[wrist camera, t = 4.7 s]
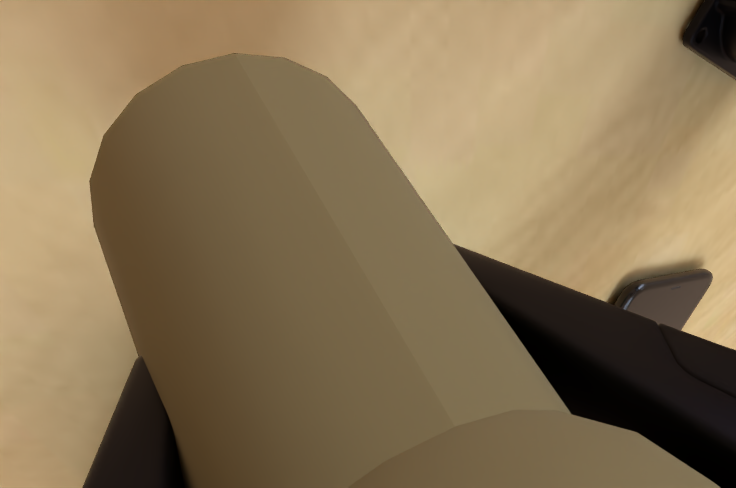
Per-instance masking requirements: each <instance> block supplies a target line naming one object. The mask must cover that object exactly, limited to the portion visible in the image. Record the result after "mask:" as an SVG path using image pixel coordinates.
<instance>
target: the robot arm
mask: <svg viewBox="0 0 736 488" xmlns="http://www.w3.org/2000/svg"><path fill="white" fill-rule="evenodd" d="M683 45H684V46H685V47H687V48H688V49H690V50H691V51H693V52H694V53H696V54H697V55H699V56H700V57H702V58H703V59H705V60H706V61H708V62H709V63H711V64H712V65H714V66H715V67H717V68H718V69H720V70H721V71H723V72H724V73H726V74H727V75H729V76H730V77H732V78H733V79H735V80H736V0H704V2H703V4H702V5H701V7H700V8H699V10H698V12H697V13H696V15H695V16H694V18H693V20H692V21H691V23H690V24H689V26H688V28H687V29H686V31H685V33H684V36H683ZM453 245H454V246H455V248H456V249H457V251H458V252H459V254H460V255H461V256H462V258H463V259H464V261H465V262H466V264H467V265H468V266H469V268H470V269H471V271H472V272H473V274H474V275H475V276H476V278H477V279H478V281H479V282H480V284H481V285H482V287H483V288H484V289H485V291H486V292H487V294H488V295H489V297H490V298H491V299H492V301H493V302H494V304H495V305H496V307H497V308H498V309H499V311H500V312H501V314H502V315H503V317H504V318H505V320H506V321H507V322H508V324H509V325H510V327H511V328H512V330H513V331H514V332H515V334H516V335H517V337H518V338H519V340H520V341H521V342H522V344H523V345H524V347H525V348H526V350H527V351H528V352H529V354H530V355H531V357H532V358H533V360H534V361H535V363H536V364H537V365H538V367H539V368H540V370H541V371H542V373H543V374H544V375H545V377H546V378H547V380H548V381H549V383H550V384H551V385H552V387H553V388H554V390H555V391H556V393H557V394H558V396H559V397H560V398H561V400H562V401H563V403H564V404H565V406H566V407H567V408H568V410H569V411H570V413H571V414H572V415H575V416H579V417H583V418H586V419H590V420H594V421H597V422H601V423H605V424H608V425H612V426H616V427H619V428H623V429H627V430H631V431H634V432H637V433H639V434H640V435H642V436H643V437H645V438H647V439H648V440H650V441H651V442H653V443H654V444H656V445H657V446H659V447H660V448H662V449H663V450H665V451H666V452H668V453H670V454H671V455H673V456H674V457H676V458H677V459H679V460H680V461H682V462H683V463H685V464H686V465H688V466H689V467H691V468H692V469H694V470H696V471H697V472H699V473H700V474H702V475H703V476H705V477H706V478H708V479H709V480H711V481H712V482H714V483H715V484H717V485H718V486H719V487H721V488H736V350H733V349H730V348H727V347H725V346H722V345H719V344H716V343H713V342H711V341H708V340H705V339H702V338H700V337H697V336H694V335H691V334H689V333H686V332H683V331H681V330H678V329H675V328H673V327H670V326H667V325H665V324H662V323H660V324H657V322H656V321H654V320H651V319H649V318H646V317H643V316H641V315H638V314H636V313H633V312H630V311H628V310H625V309H622V308H620V307H617V306H615V305H612V304H609V303H607V302H604V301H602V300H599V299H596V298H594V297H591V296H588V295H586V294H583V293H581V292H578V291H575V290H573V289H570V288H567V287H565V286H562V285H560V284H557V283H554V282H552V281H549V280H546V279H544V278H541V277H539V276H536V275H533V274H531V273H528V272H525V271H523V270H520V269H518V268H515V267H512V266H510V265H507V264H504V263H502V262H499V261H497V260H494V259H491V258H489V257H486V256H484V255H481V254H478V253H476V252H473V251H470V250H468V249H465V248H463V247H460V246H457V245H455V244H453ZM83 488H185V486H184V481H183V476H182V471H181V466H180V461H179V456H178V451H177V447H176V442H175V437H174V432H173V428H172V425H171V422H170V419H169V416H168V414H167V412H166V409H165V407H164V405H163V402H162V400H161V398H160V396H159V393H158V391H157V389H156V387H155V384H154V382H153V380H152V377H151V375H150V373H149V371H148V368H147V366H146V364H145V362H144V359H143V357H142V356H139V357H138V358H137V359H136V361H135V363H134V365H133V368H132V370H131V372H130V375H129V377H128V380H127V382H126V384H125V387H124V389H123V392H122V394H121V396H120V399H119V401H118V404H117V406H116V408H115V411H114V413H113V416H112V418H111V420H110V423H109V425H108V428H107V430H106V432H105V435H104V437H103V440H102V442H101V444H100V447H99V449H98V452H97V454H96V456H95V459H94V461H93V464H92V466H91V468H90V471H89V473H88V476H87V478H86V480H85V483H84V485H83Z"/></svg>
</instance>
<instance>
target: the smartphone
mask: <svg viewBox="0 0 736 488" xmlns="http://www.w3.org/2000/svg"><path fill="white" fill-rule="evenodd" d="M712 279H713V276H712V273H711V272H710V271H708V270H706V269H696V270H690V271H685V272H680V273H674V274H669V275H664V276H658V277H653V278H648V279H643V280H638V281H635V282H633V283H631V284H629V285H628V286H627V287H626V288H625V289H624V290H623V291H622V292H621V294H620V295H619V297H618V299H617V301H616V302H615V304H614V305H615V306H617V307H620V308H622V309H625V310H628V311H630V312H633V313H636V314H638V315H641V316H643V317H646V318H649V319H651V320H654V321H656V322H657V324H660V323H662V324H665V325H667V326H670V327H673V328H675V329H678V330H681V329H682V328H683V326H684V325H685V323H686V322H687V320H688V319H689V317H690V316H691V314H692V312H693V311H694V309H695V308H696V306H697V305H698V303H699V302H700V300H701V299H702V297H703V295H704V294H705V292H706V291H707V289H708V288H709V286H710V284H711V282H712Z"/></svg>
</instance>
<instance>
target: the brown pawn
mask: <svg viewBox="0 0 736 488" xmlns="http://www.w3.org/2000/svg"><path fill="white" fill-rule="evenodd" d="M89 182H90V192H91V202H92V212H93V222H94V227H95V230H96V233H97V236H98V239H99V242H100V245H101V248H102V251H103V254H104V257H105V260H106V262H107V265H108V268H109V271H110V274H111V277H112V280H113V283H114V286H115V289H116V292H117V295H118V297H119V300H120V303H121V306H122V309H123V312H124V315H125V318H126V321H127V324H128V327H129V329H130V332H131V335H132V338H133V341H134V344H135V347H136V350H137V353H138V356H142V357H143V359H144V362H145V364H146V366H147V368H148V371H149V373H150V375H151V377H152V380H153V382H154V384H155V387H156V389H157V391H158V393H159V396H160V398H161V400H162V402H163V405H164V407H165V409H166V412H167V414H168V416H169V419H170V422H171V425H172V428H173V432H174V437H175V442H176V447H177V451H178V456H179V461H180V466H181V471H182V476H183V481H184V486H185V488H721V487H719V486H718V485H717V484H715V483H714V482H712V481H711V480H709V479H708V478H706V477H705V476H703V475H702V474H700V473H699V472H697V471H696V470H694V469H692V468H691V467H689V466H688V465H686V464H685V463H683V462H682V461H680V460H679V459H677V458H676V457H674V456H673V455H671V454H670V453H668V452H666V451H665V450H663V449H662V448H660V447H659V446H657V445H656V444H654V443H653V442H651V441H650V440H648V439H647V438H645V437H643V436H642V435H640V434H639V433H637V432H634V431H631V430H627V429H623V428H619V427H616V426H612V425H608V424H605V423H601V422H597V421H594V420H590V419H586V418H583V417H579V416H575V415H572V414H571V413H570V411H569V410H568V408H567V407H566V406H565V404H564V403H563V401H562V400H561V398H560V397H559V396H558V394H557V393H556V391H555V390H554V388H553V387H552V385H551V384H550V383H549V381H548V380H547V378H546V377H545V375H544V374H543V373H542V371H541V370H540V368H539V367H538V365H537V364H536V363H535V361H534V360H533V358H532V357H531V355H530V354H529V352H528V351H527V350H526V348H525V347H524V345H523V344H522V342H521V341H520V340H519V338H518V337H517V335H516V334H515V332H514V331H513V330H512V328H511V327H510V325H509V324H508V322H507V321H506V320H505V318H504V317H503V315H502V314H501V312H500V311H499V309H498V308H497V307H496V305H495V304H494V302H493V301H492V299H491V298H490V297H489V295H488V294H487V292H486V291H485V289H484V288H483V287H482V285H481V284H480V282H479V281H478V279H477V278H476V276H475V275H474V274H473V272H472V271H471V269H470V268H469V266H468V265H467V264H466V262H465V261H464V259H463V258H462V256H461V255H460V254H459V252H458V251H457V249H456V248H455V246H454V245H453V243H452V242H451V241H450V239H449V238H448V236H447V235H446V233H445V232H444V231H443V229H442V228H441V226H440V225H439V223H438V222H437V221H436V219H435V218H434V216H433V215H432V213H431V212H430V210H429V209H428V208H427V206H426V205H425V203H424V202H423V200H422V199H421V198H420V196H419V195H418V193H417V192H416V190H415V189H414V188H413V186H412V185H411V183H410V182H409V180H408V179H407V177H406V176H405V175H404V173H403V172H402V170H401V169H400V167H399V166H398V165H397V163H396V162H395V160H394V159H393V157H392V156H391V155H390V153H389V152H388V150H387V149H386V147H385V146H384V145H383V143H382V142H381V140H380V139H379V137H378V136H377V134H376V133H375V132H374V130H373V129H372V127H371V126H370V124H369V123H368V122H367V120H366V119H365V117H364V116H363V114H362V113H361V112H360V110H359V109H358V107H357V106H356V105H355V104H354V103H353V102H352V101H351V100H350V99H349V98H348V97H347V96H346V95H345V94H344V93H343V92H342V91H341V90H340V89H339V88H338V87H337V86H336V85H335V84H334V83H333V82H332V81H331V80H330V79H329V78H328V77H326V76H324V75H322V74H320V73H317V72H315V71H313V70H311V69H309V68H306V67H304V66H302V65H300V64H297V63H295V62H293V61H291V60H289V59H286V58H281V57H270V56H259V55H248V54H236V53H234V54H229V55H225V56H221V57H217V58H213V59H208V60H204V61H200V62H196V63H192V64H187V65H183V66H181V67H179V68H178V69H176V70H174V71H173V72H171V73H170V74H168V75H166V76H165V77H163V78H162V79H160V80H158V81H157V82H155V83H154V84H152V85H150V86H149V87H147V88H146V89H144V90H142V91H141V92H139V93H138V94H136V95H135V96H134V98H133V99H132V100H131V101H130V103H129V104H128V105H127V107H126V108H125V109H124V110H123V112H122V113H121V114H120V115H119V117H118V118H117V119H116V120H115V122H114V123H113V124H112V125H111V127H110V128H109V129H108V130H107V132H106V133H105V134H104V136H103V139H102V142H101V146H100V149H99V152H98V155H97V159H96V162H95V165H94V168H93V171H92V175H91V178H90V181H89Z"/></svg>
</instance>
